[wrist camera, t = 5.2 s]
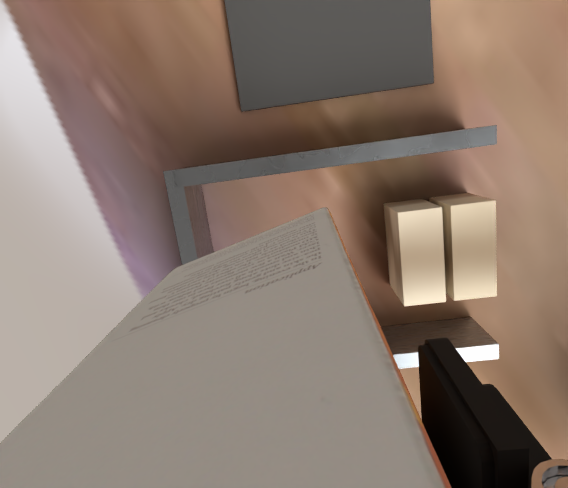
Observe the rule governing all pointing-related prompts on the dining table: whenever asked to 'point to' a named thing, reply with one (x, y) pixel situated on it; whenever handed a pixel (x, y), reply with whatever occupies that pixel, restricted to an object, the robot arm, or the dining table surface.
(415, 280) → the offcut
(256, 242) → the small box
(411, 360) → the grey tray
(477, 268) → the offcut
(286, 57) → the mat
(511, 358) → the dining table surface
